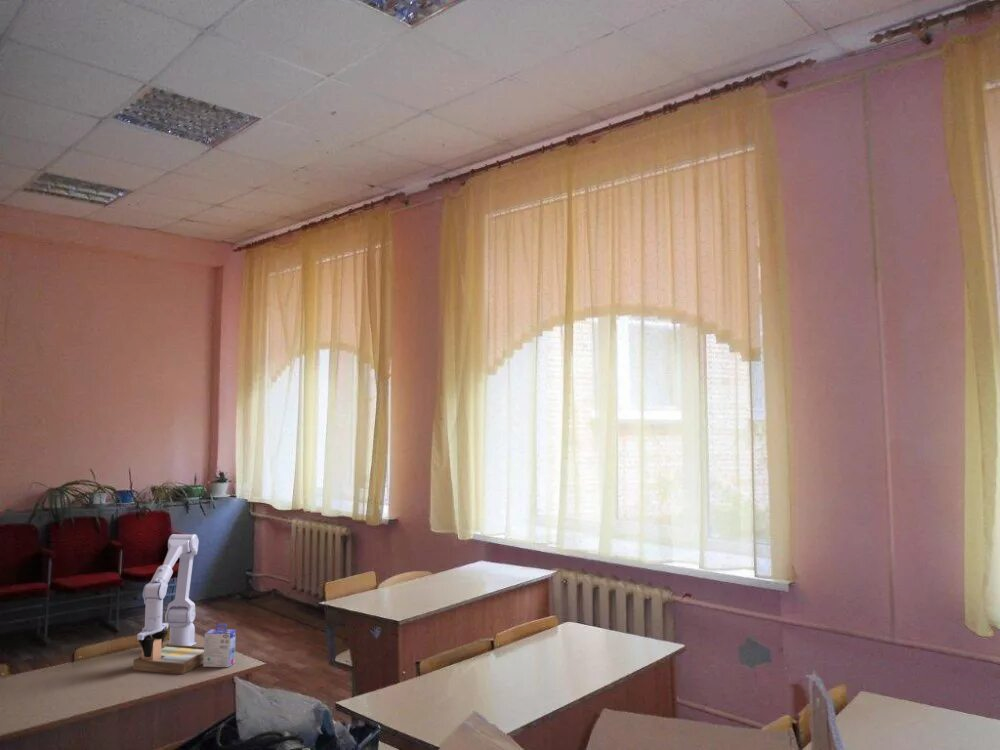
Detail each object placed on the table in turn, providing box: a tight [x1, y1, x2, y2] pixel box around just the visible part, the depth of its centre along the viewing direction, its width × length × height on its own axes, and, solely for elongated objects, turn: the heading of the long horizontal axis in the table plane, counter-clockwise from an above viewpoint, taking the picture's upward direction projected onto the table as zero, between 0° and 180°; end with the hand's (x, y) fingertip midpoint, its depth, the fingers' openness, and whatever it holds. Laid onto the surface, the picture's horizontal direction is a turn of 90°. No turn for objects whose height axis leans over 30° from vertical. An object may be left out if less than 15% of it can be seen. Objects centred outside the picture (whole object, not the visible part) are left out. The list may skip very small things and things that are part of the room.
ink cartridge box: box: [202, 623, 237, 668], centre depth 257 cm, size 10×6×14 cm, turn 88°
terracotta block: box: [141, 639, 162, 661], centre depth 255 cm, size 5×5×7 cm
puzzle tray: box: [132, 643, 204, 675], centre depth 258 cm, size 18×20×4 cm
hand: (152, 654), depth 255 cm, fingers closed on terracotta block, 5 cm apart
